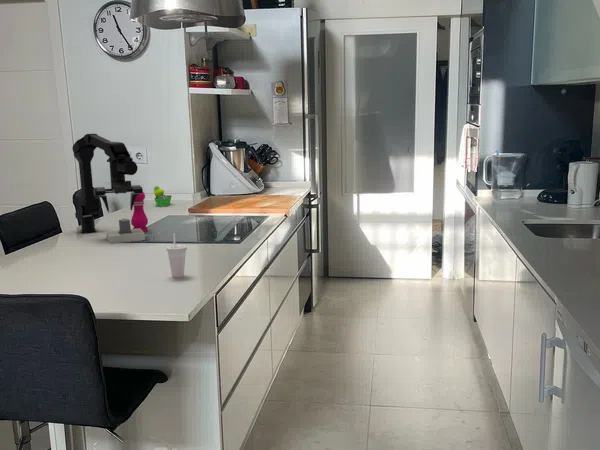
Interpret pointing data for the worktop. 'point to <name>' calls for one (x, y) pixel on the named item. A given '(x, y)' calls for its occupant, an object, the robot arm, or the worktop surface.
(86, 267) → the worktop surface
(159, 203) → the fruit basket
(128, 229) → the plug
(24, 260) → the worktop surface
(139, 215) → the pepper mill
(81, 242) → the worktop surface
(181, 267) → the smoothie
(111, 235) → the socket plate
